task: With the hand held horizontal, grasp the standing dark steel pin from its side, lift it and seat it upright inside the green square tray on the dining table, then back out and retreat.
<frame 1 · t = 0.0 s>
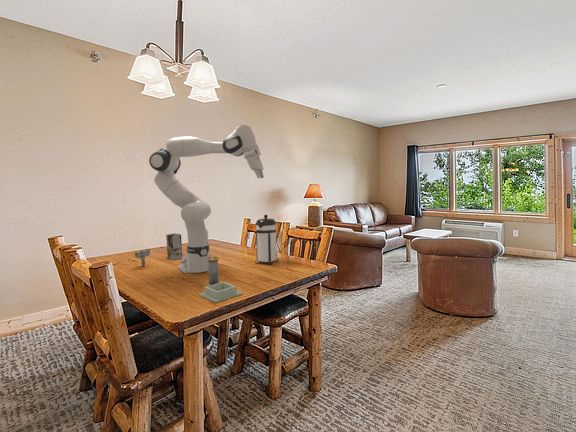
hand: (261, 177, 170), 52 cm above the table, tool tilted 20°, fingers open, 8 cm apart
green square tray: (220, 294, 138), on the table
pin: (214, 286, 149), on the table
coffee press: (267, 262, 194), on the table
coffee box: (175, 258, 208), on the table
mechanical component: (143, 267, 187), on the table
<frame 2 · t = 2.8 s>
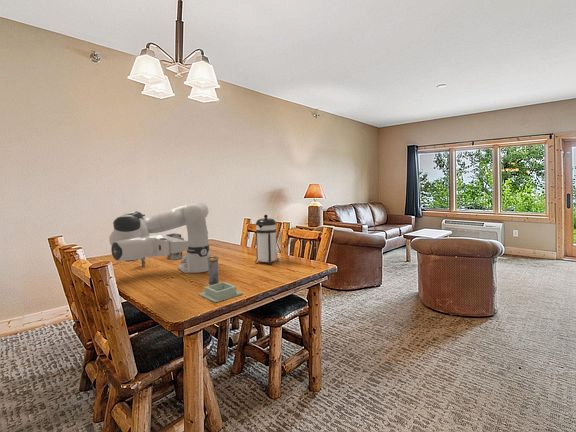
hand: (188, 240, 138), 24 cm above the table, tool horizontal, fingers open, 8 cm apart
nothing on the table moved.
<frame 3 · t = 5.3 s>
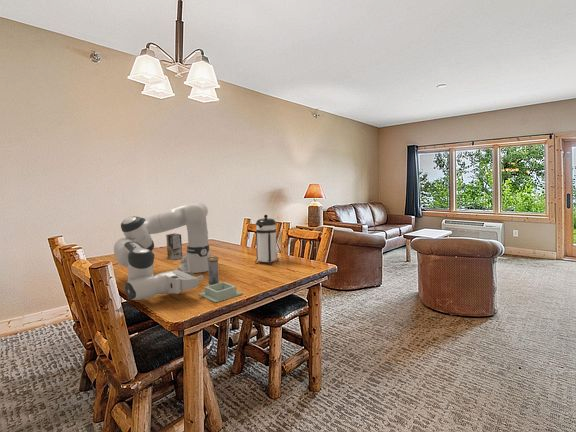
hand: (197, 275, 142), 8 cm above the table, tool horizontal, fingers open, 8 cm apart
nothing on the table moved.
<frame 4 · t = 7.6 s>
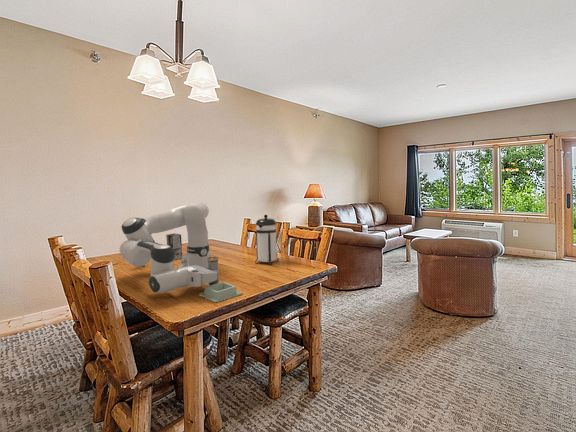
hand: (215, 269, 149), 8 cm above the table, tool horizontal, fingers closed on pin, 4 cm apart
pin: (214, 286, 149), on the table, touching gripper
everything else where it was.
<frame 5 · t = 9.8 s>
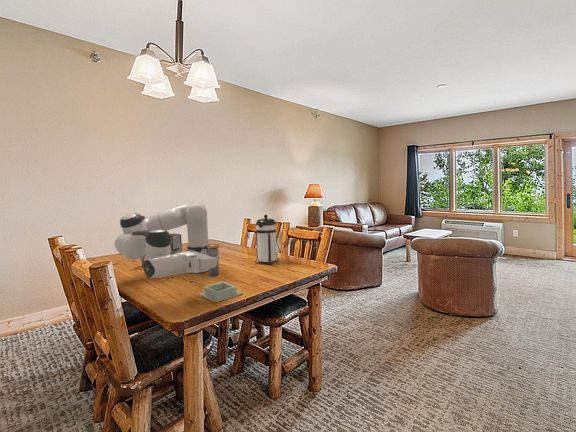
hand: (215, 256, 140), 16 cm above the table, tool horizontal, fingers closed on pin, 4 cm apart
pin: (213, 275, 140), point 8 cm above the table, touching gripper
everything else where it was.
when the fingers open (10 cm above the table, at t = 12.3 s): pin stays where it is, resting on green square tray.
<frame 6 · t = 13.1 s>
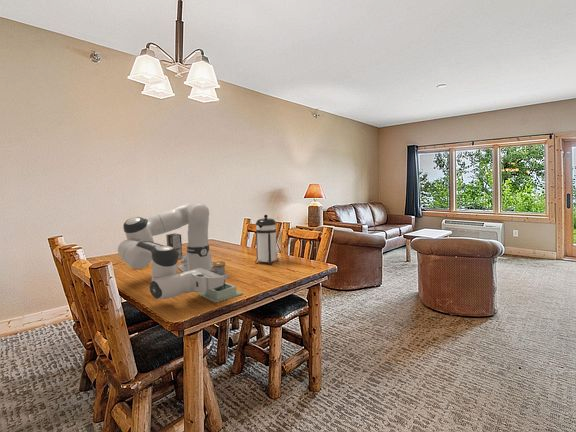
hand: (221, 273, 138), 10 cm above the table, tool horizontal, fingers open, 8 cm apart
pin: (220, 293, 138), point 1 cm above the table, touching green square tray
everything else where it was.
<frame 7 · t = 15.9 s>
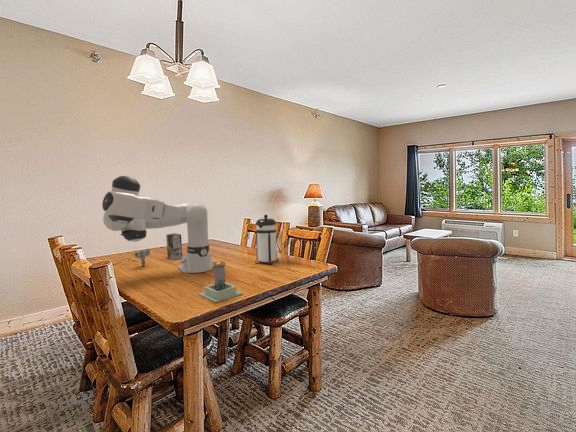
hand: (185, 215, 130), 36 cm above the table, tool tilted 75°, fingers open, 8 cm apart
nothing on the table moved.
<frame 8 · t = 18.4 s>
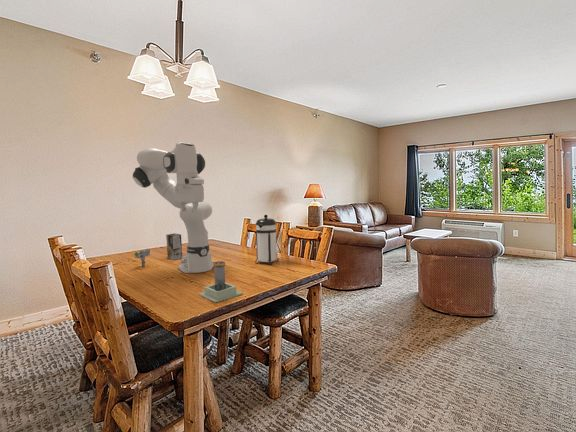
hand: (189, 212, 136), 37 cm above the table, tool pointing down, fingers open, 8 cm apart
nothing on the table moved.
at the end: pin 0.1 cm off-centre on the green square tray, point 0.6 cm above the green square tray's base; pin tilted 0°; the gripper is holding nothing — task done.
